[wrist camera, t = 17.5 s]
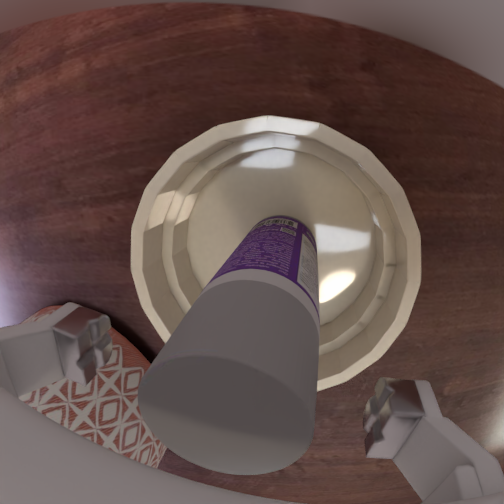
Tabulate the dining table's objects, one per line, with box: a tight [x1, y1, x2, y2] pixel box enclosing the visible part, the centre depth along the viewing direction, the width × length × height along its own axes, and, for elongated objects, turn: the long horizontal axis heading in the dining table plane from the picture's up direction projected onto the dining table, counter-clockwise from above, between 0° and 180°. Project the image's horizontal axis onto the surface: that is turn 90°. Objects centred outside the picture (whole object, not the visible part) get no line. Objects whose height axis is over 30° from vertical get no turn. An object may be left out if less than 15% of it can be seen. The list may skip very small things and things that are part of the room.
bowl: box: [131, 115, 421, 391], centre depth 19 cm, size 16×16×6 cm
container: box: [138, 215, 320, 475], centre depth 14 cm, size 5×5×15 cm
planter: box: [19, 305, 167, 469], centre depth 22 cm, size 19×19×15 cm
